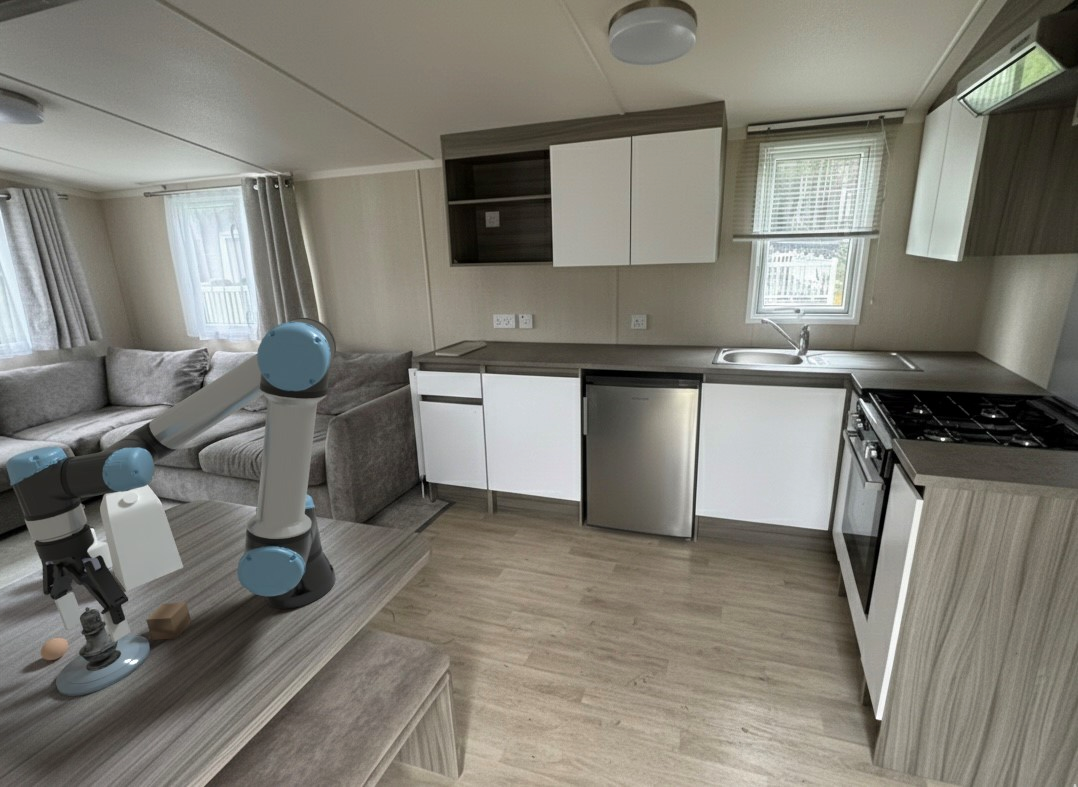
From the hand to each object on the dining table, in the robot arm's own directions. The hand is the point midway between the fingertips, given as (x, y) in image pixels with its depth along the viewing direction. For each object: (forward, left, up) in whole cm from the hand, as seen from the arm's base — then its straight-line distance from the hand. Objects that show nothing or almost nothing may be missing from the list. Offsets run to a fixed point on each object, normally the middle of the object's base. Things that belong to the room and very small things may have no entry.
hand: (97, 630), depth 97 cm
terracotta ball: (+13, +1, -6) cm, 15 cm away
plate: (0, 0, -8) cm, 8 cm away
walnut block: (-3, -11, -8) cm, 14 cm away
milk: (+26, -26, -8) cm, 38 cm away
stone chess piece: (0, 0, -7) cm, 7 cm away
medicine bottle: (+42, -22, -8) cm, 48 cm away
